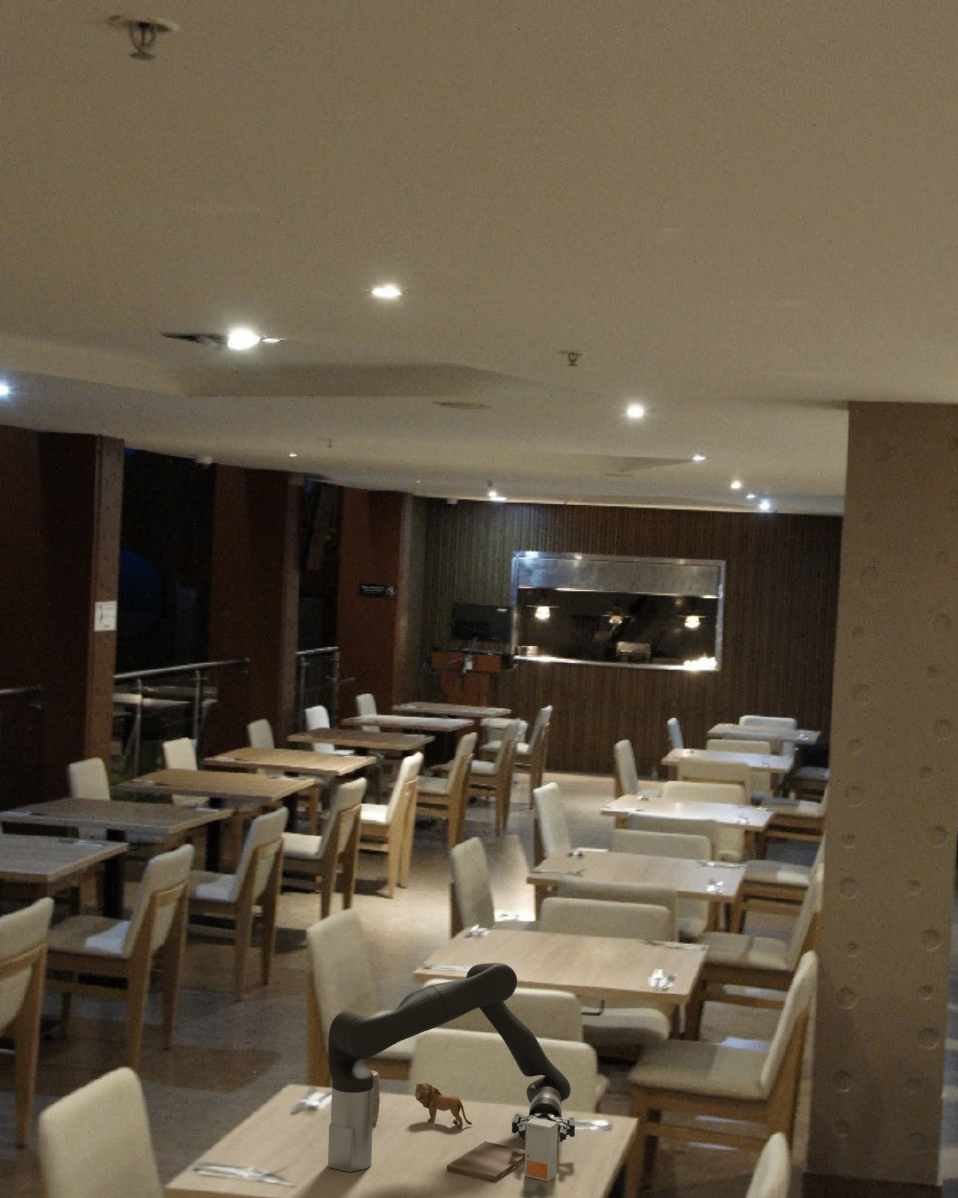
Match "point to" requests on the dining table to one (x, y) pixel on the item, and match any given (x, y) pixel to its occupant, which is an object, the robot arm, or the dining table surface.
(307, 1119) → the dining table surface
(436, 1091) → the lion figurine
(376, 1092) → the carving
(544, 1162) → the skincare box
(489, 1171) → the walnut board
